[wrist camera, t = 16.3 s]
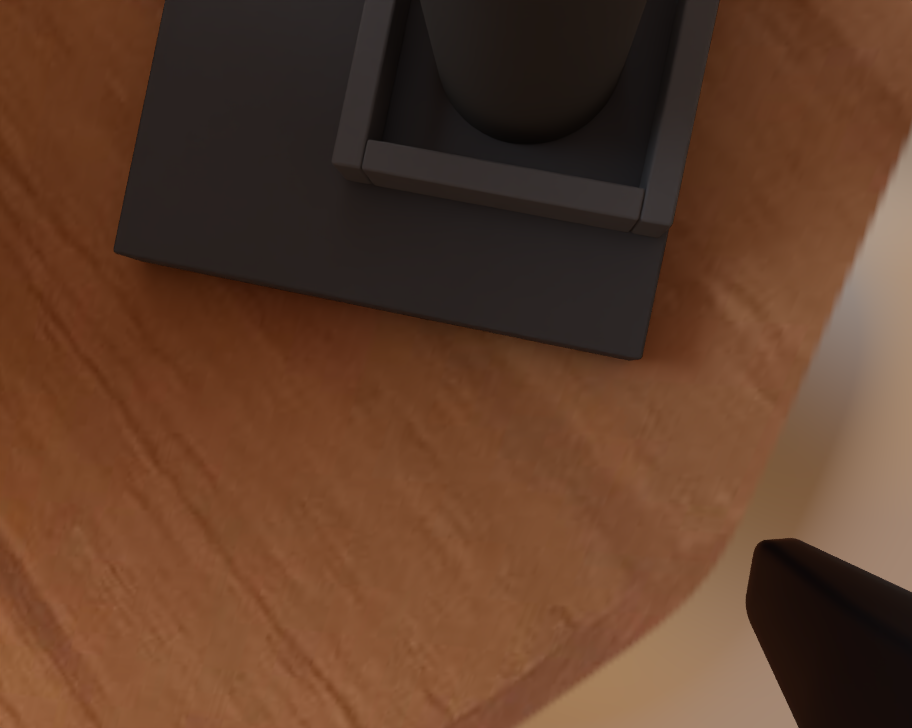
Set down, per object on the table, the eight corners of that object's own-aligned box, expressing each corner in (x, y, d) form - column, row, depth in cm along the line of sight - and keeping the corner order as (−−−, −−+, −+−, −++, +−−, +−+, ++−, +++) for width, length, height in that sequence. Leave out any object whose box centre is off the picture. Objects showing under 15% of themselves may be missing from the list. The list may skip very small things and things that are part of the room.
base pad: (740, -155, 19) (782, -254, 16) (632, 361, 19) (653, 359, 16) (241, -222, 20) (193, -324, 17) (140, 261, 20) (76, 241, 17)
